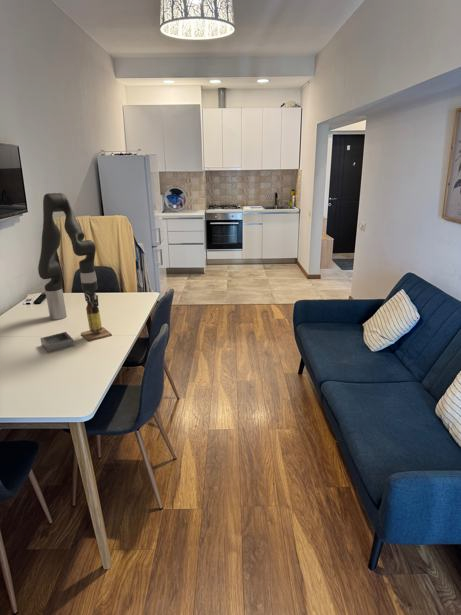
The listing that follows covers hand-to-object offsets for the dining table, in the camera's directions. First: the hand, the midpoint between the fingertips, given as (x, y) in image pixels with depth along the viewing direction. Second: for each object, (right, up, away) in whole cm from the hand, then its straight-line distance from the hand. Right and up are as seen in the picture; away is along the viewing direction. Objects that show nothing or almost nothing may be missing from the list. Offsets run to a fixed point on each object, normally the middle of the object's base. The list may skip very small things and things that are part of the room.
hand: (93, 311), depth 212 cm
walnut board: (0, -12, +4) cm, 13 cm away
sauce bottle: (0, -10, +4) cm, 11 cm away
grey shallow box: (-15, -17, -8) cm, 24 cm away
